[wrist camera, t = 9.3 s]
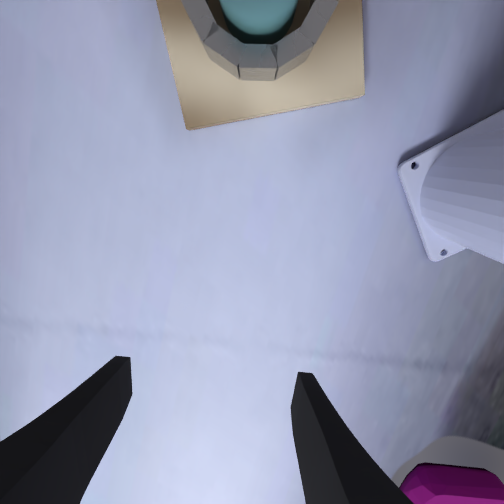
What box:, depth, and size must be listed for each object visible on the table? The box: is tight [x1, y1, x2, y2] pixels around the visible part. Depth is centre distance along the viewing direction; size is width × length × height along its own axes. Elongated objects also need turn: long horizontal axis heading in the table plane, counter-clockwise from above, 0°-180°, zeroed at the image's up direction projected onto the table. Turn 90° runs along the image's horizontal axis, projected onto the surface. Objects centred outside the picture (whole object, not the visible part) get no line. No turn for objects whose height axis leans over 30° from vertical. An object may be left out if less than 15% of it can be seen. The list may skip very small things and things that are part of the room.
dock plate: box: [156, 0, 365, 130], centre depth 15 cm, size 11×11×1 cm
